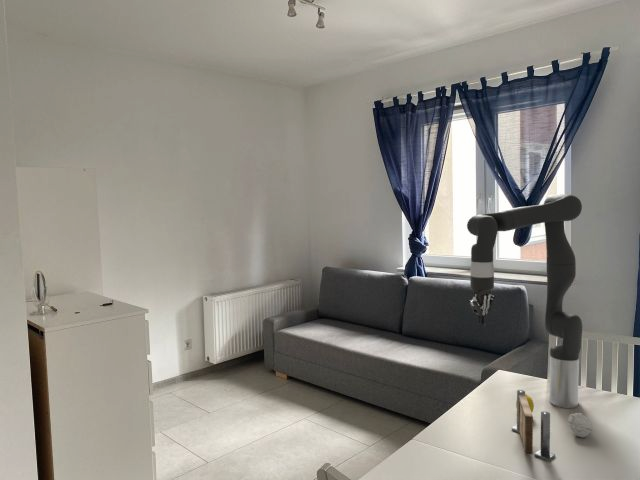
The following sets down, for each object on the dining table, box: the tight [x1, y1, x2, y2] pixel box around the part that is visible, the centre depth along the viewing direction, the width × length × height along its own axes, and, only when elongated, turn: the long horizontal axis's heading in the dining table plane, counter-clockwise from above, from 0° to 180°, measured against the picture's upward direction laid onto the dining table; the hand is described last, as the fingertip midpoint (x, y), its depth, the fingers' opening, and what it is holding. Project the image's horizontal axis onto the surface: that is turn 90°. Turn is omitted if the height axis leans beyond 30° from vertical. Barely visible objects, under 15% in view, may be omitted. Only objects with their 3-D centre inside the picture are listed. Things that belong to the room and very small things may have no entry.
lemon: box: [515, 393, 535, 414], centre depth 163 cm, size 6×6×8 cm
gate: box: [518, 395, 534, 456], centre depth 144 cm, size 15×2×11 cm, turn 164°
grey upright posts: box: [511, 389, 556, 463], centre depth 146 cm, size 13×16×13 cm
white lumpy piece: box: [568, 412, 593, 438], centre depth 149 cm, size 6×7×7 cm
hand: (482, 325), depth 162 cm, fingers closed
